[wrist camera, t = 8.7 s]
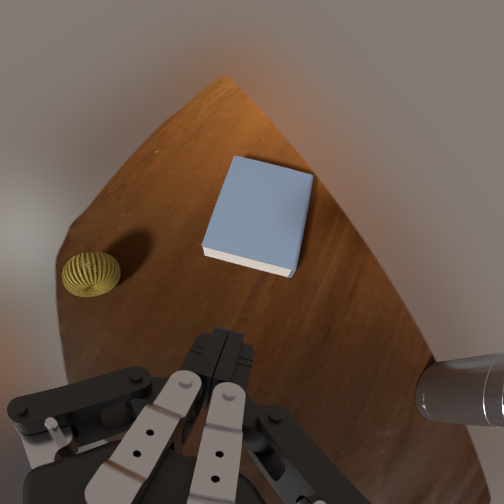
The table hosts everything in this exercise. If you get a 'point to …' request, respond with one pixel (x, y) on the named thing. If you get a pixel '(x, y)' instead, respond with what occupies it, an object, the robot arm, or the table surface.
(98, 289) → the sculpture
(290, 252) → the book
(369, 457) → the table surface
